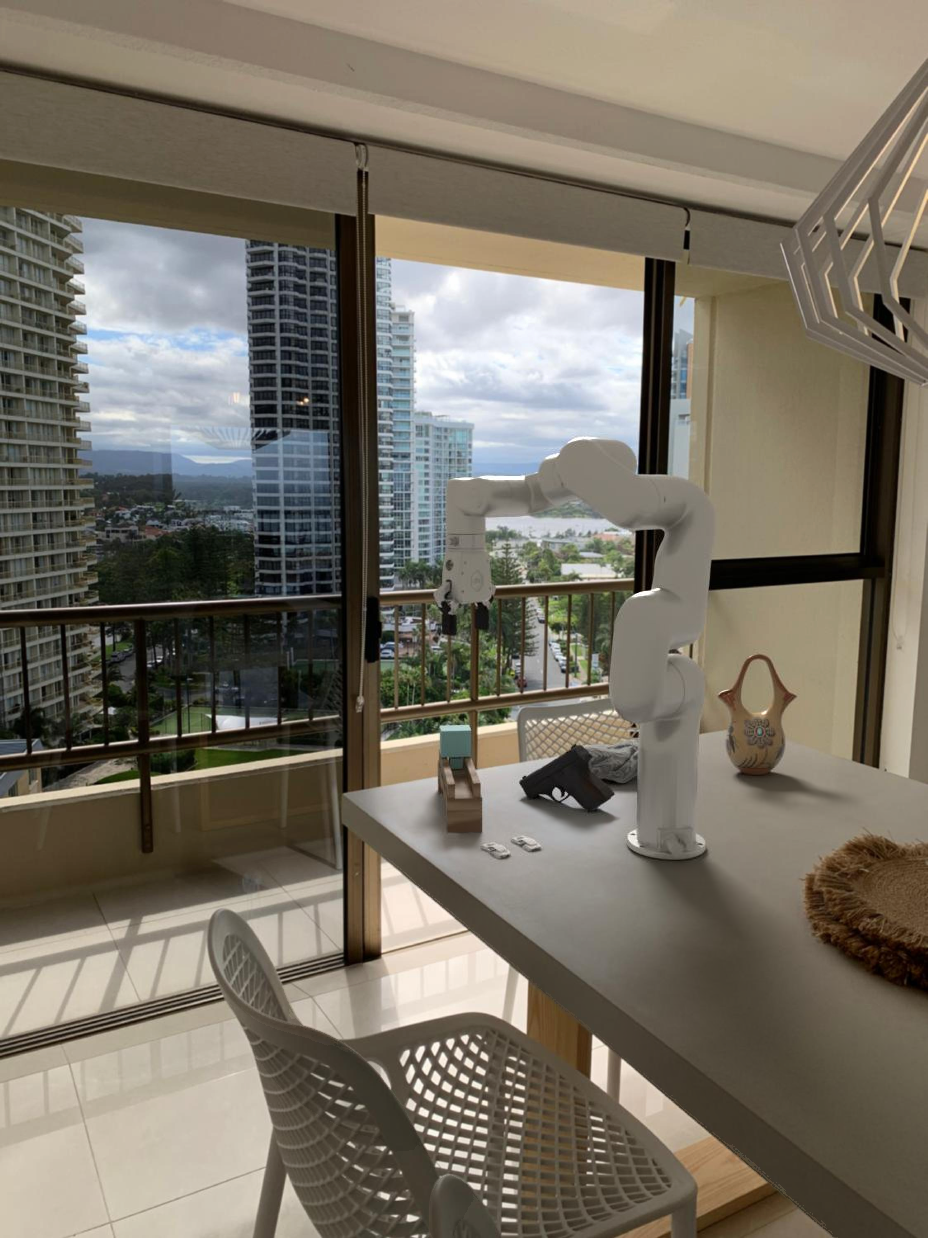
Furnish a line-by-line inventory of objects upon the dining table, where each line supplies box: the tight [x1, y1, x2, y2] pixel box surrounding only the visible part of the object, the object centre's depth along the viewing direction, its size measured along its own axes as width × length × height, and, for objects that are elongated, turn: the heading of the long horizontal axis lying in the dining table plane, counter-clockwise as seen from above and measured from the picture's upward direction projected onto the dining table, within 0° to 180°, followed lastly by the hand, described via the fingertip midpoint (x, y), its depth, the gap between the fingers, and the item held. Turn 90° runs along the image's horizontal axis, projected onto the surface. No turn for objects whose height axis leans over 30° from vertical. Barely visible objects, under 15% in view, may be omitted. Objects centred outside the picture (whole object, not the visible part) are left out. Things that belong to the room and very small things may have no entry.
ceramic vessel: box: [716, 653, 798, 776], centre depth 189 cm, size 16×9×25 cm, turn 92°
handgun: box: [518, 743, 615, 813], centre depth 171 cm, size 4×16×12 cm
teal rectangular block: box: [439, 724, 472, 769], centre depth 173 cm, size 4×6×8 cm
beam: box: [437, 748, 483, 834], centre depth 168 cm, size 24×6×8 cm, turn 5°
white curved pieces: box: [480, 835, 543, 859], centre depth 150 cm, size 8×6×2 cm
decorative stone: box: [582, 739, 638, 784], centre depth 188 cm, size 15×14×10 cm
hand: (465, 632), depth 178 cm, fingers open, 9 cm apart
